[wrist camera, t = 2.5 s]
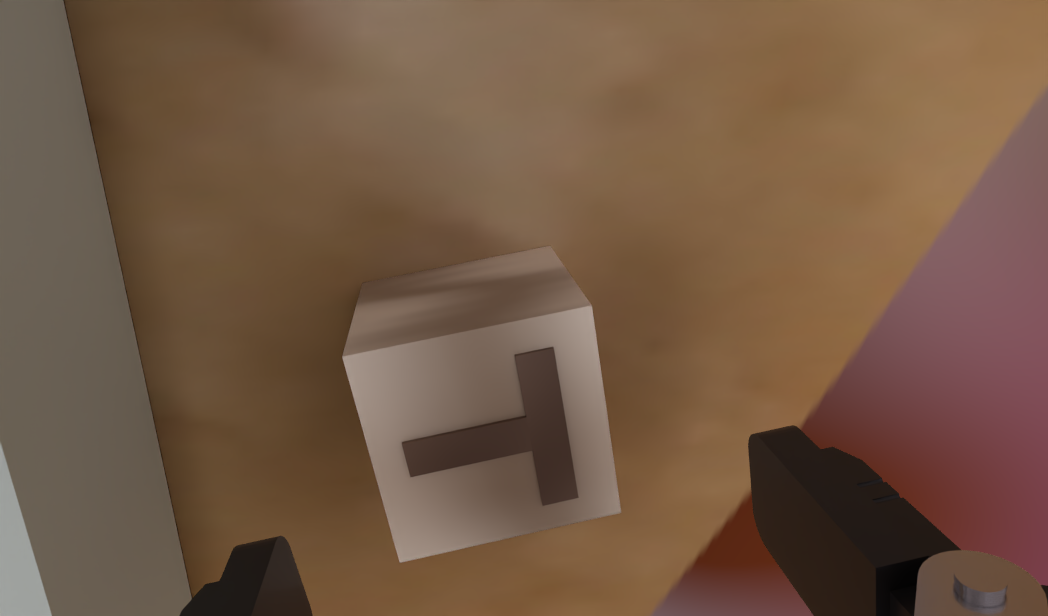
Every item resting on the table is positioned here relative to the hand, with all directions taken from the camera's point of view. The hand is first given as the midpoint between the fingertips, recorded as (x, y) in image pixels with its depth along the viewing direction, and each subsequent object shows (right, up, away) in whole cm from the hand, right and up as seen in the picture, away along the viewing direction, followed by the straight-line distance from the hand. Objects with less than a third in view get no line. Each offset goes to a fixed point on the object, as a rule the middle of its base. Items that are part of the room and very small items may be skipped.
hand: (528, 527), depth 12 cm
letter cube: (-1, +3, +7) cm, 8 cm away
